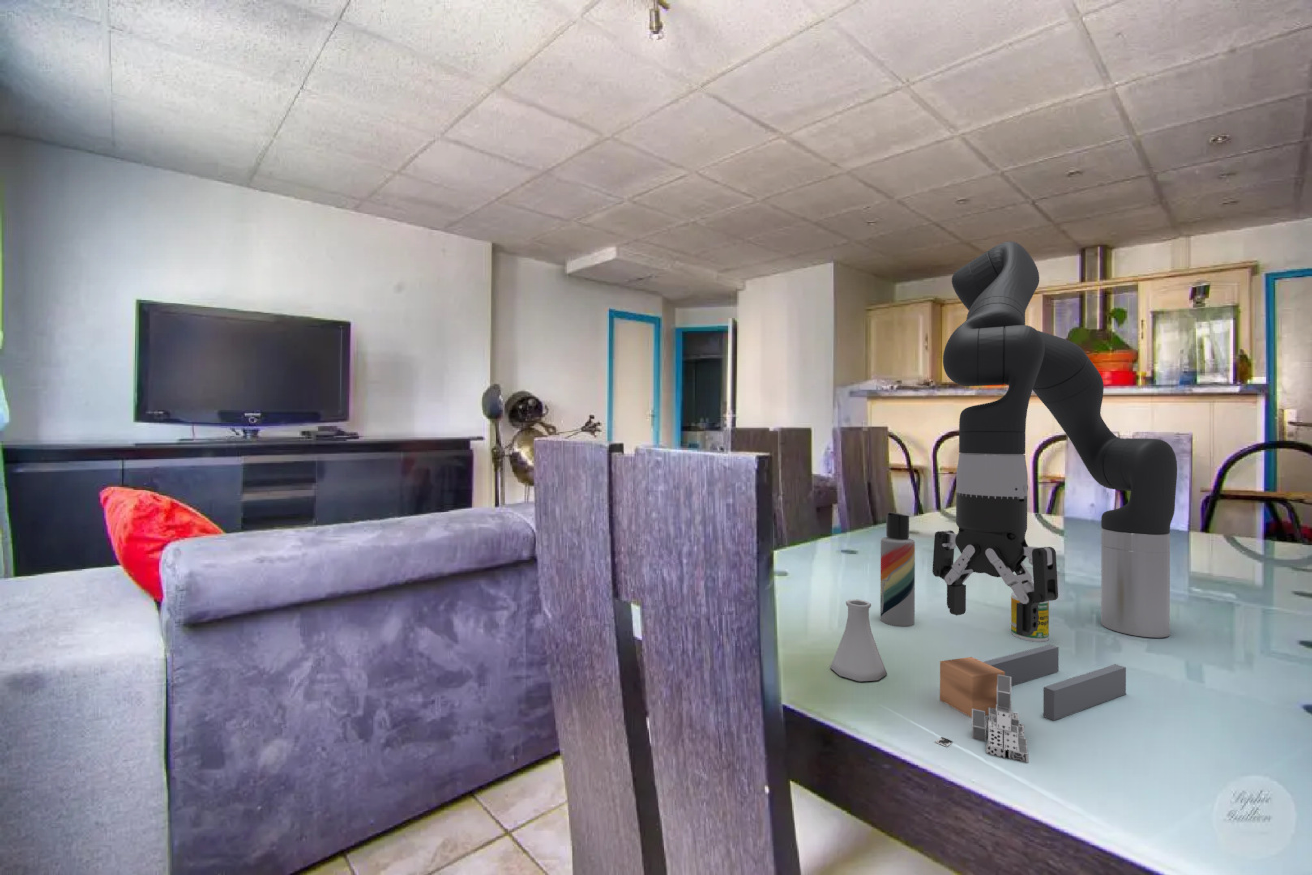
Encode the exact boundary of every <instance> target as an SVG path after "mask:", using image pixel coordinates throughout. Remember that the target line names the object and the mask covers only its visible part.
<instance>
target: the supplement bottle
mask: <svg viewBox="0 0 1312 875" xmlns="http://www.w3.org/2000/svg"><path fill="white" fill-rule="evenodd" d="M1032 582H1033V578H1032ZM1033 584H1034V582H1033ZM1019 602H1020V601H1019V600H1018V598H1017V596H1016V595H1015V593H1014V592H1013V591H1012V592H1011V595H1010V604H1011V605H1010V609H1011V610H1010V624H1011V625H1010V628H1011V629H1010V632H1011V635H1012V634H1013V635H1014V637H1015V638H1017V637H1019V638H1018V639H1020V638H1021V639H1020V640H1023V639H1025V641H1029V642H1037V643H1039V642H1041V643H1043V642H1047V641H1048V640H1049V637H1050V636H1049V635H1050V634H1049V633H1050V629H1049V628H1050V627H1049V625H1050V624H1049V623H1050V621H1049V620H1050V609H1049V607H1050V601H1046V602H1042V603H1039V606H1038V628H1037V631H1034V632H1033V634H1032V635H1029V636H1021V635H1018V634H1017V632H1016V611H1017V603H1019ZM1013 635H1012V636H1013Z"/></svg>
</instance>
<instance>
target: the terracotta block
mask: <svg viewBox="0 0 1312 875" xmlns="http://www.w3.org/2000/svg"><path fill="white" fill-rule="evenodd" d="M984 662H985V661H981V660H980V659H977V658H974V657H972V656H968V657H967V656H966V657H959V658H955V659H953V658H952V659H946V660H939V700H940V701H941V702H943V703H944V704H947V705H948V706H950V707H952V708H953V709H955V710H957V711H959V712H960V713H963V715H966V716H968V717H970V718H971V719H972V709H976V710H981V711H985V717H987V716H988V711H989V708H994V709H996V704H997V685H998V674H999V675H1004V676H1005V672H1004V671H1002V670H1000V669H997V668H995V667H993V666H991V665H988V664H986V663H984Z"/></svg>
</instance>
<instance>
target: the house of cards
mask: <svg viewBox="0 0 1312 875" xmlns="http://www.w3.org/2000/svg"><path fill="white" fill-rule="evenodd" d="M1011 696H1012V686H1011V677H1009V676H1004V675H999V674H998V685H997V704H996V709H994V708H989V711H988V715H987V716H985V711H981V710H976V709H972V718H971V726H972V730H971V731H972V736H971V737H972V739H973V740H978V741H982V742H986V739H987V743H985V754H989V755H993V756H997V757H1001V758H1006V752H1007V758H1008V759H1011V760H1015V761H1019V762H1023V763H1029V753H1028V749H1027V747H1028V742H1027V738H1025V724H1024V723H1023V724H1022V723H1020V720H1019V713H1018V712H1015V711H1012V710H1013V709H1012V700H1011V699H1012V697H1011ZM953 742H954V741H952V740H950V739H949V738H946V737H943V736H941V737H939V738H938V739H937V740H935V741H934V743H935V744H936V743H937V744H938V745H941V746H943V747H949V746H950V745H951V744H953Z"/></svg>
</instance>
